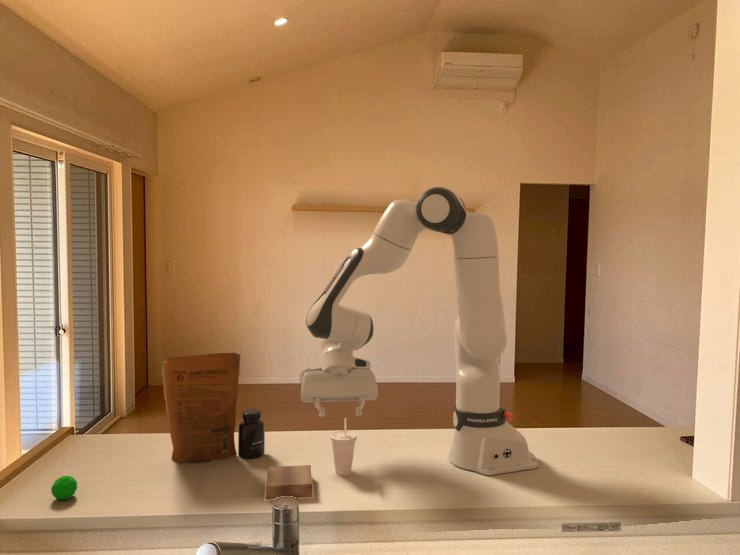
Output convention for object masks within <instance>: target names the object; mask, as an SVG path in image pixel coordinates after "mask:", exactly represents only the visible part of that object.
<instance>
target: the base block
mask: <svg viewBox="0 0 740 555" xmlns="http://www.w3.org/2000/svg"><path fill="white" fill-rule="evenodd" d="M266 472H267V473H266V474H267V476H266V479H267V481H266V480H265V484H266V499H275V498H277V497H281V496H293V497H296V498H301V497H312V477H311V476H312V465H310V464H306V465H305V464H304V465H303V464H302V465H287V466H286V465H285V466H284V465H283V466H268V467H267V471H266Z"/></svg>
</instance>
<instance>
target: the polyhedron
mask: <svg viewBox="0 0 740 555" xmlns="http://www.w3.org/2000/svg"><path fill="white" fill-rule="evenodd" d="M77 489H78V482H77V479H75V478H74V477H73V476H70V475H62V476H59V478H57V479H55V480H54V482H53V484H52V486H51V489H50V490H51V495H52V497H54V498H55V499H56V500H59V501H66V500H68V499H70V498H71V497H73V496H74V495H75V493H76V491H77Z"/></svg>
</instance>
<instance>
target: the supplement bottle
mask: <svg viewBox="0 0 740 555" xmlns="http://www.w3.org/2000/svg"><path fill="white" fill-rule="evenodd" d="M241 415H242V416H241V419H242V420H240V422H239V423H238V427H237V428H238V429H237V431H238V432H237V433H238V434H237V436H238V437H237V438H238V439H237V440H238V441H237V446H238V447H237V448H238V449H237V451H238V452H237V455H238V457H239V458H240V459H243V460H256V459H258V458H262V457H263V456H264V455H265V447H266V446H265V444H266V443H265V442H266V441H265V438H266V437H265V436H266V435H265V434H266V433H265V432H266V430H265V429H266V428H265V426H266V425H265V422H264V421H263V420H262V411H261V409H259V408H247V409H244V410H242V412H241Z"/></svg>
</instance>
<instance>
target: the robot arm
mask: <svg viewBox="0 0 740 555" xmlns="http://www.w3.org/2000/svg"><path fill="white" fill-rule="evenodd" d="M377 222H378V223H377V224H376V226H375V227H374V230H373V231H372V233H371V236H370V237H369V238H368V240H367V241H366V242H365V243H364V244H363V245H361V246H360V247H358V248H354V249H352V250H351V252H349V253H348V255H347V256H346V258H345V259H344V260H343V262H342V263H341V265H340V266H339V268H338V269H337V271H336V272H335V274H334V275H333V277H332V278H331V280H330V281H329V283H328V284H327V286H326V287H325V288H324V291H323V292H322V293H321V294H320V296H318V298H317V299H316V301H314V303H313V304H312V305H311V306H310V308H309V310H308V312H307V315H306V318H305V324H306V327H307V329H308V331H309V333H310V334H311V335H312V337H314V338H317V339H320V347H321V351H322V354H321V368H305V369H304V370H302V371H301V372H300V373H299V381H300V383H301V388H300V400H301V401H302V402H303V403H314V407H315V408H316V410H317V411H318V417H320V418H321V417H322V418H323V417H325V416H326V407H322V406H321V403H326V402H327V403H328V402H329V403H330V402H333V403H335V402H358V403H359V406H356V407H355V416H357V417H358V416H362V415H363V408H364V405H365V403H366V402H367V401H376V399H377V398H378V395H379V389H378V383H377V378H376V375H375V373H374V371H373V370H372V369H371V368H372V366H371V365H372V364H371V361H369V360H366V359H363V358H359V357H356V356H354V353H353V352H354V351H358V350H359V349H361V348H362V347H364V346H365V345H367V344H368V343H369V342H370V341H372V338H373V335H374V320H373V319H372V317H371V315H370V314H369V313H368V312H365V311H361V310H358V309H356V308H351V307H349V306H345V305H341V304H340V303H341V301H342V299H343V298H344V297H345V294H346V293H347V292H348V291H349V289H350V287H351V286H352V284H353V283H354V282H355V281H356V280H357V279H359V278H362V277H363V276H369V275H376V274H377V275H381V274H382V275H383V274H389V273H393V272H395V271H397V270H399V269H401V268H402V267H403V265H404V264H405V263H406V262H407V260H408V258H409V256H410V254H411V251H412V249H413V247H414V245H415V243H416V242H417V239H418V237H419V236H420V234H422V232H423V231H425V230H430V231H433V232H436V233H437V232H438V233H441V234H445V235H449V236H450V238H451V240H452V242H453V263H454V285H455V286H454V287H455V294H456V301H457V310H458V316H457V318H456V320H455V323H454V354H455V356H454V358H455V374H456V376H455V378H456V379H455V380H456V382H455V384H456V386H455V387H456V388H455V404H454V406H453V407H454V408H453V416H452V417H453V418H452V419H453V420H452V421H453V427H454V430H453V437H452V443H451V447H450V451H449V454H448V461H449V462H450V463H452V464H453V466H456V467H458V468H461V469H464V470H469V471H472V472H477V473H479V474H482V475H485V476H493V475H498V474H499V475H501V474H505V473H506V474H507V473H512V472H514V473H515V472H519V471H527V470H533V469H537V468H538V466H539V465H538V464H539V462H538V459H537V456H535V455H534V453H532V452H531V451H530V449H529V446H528V441H527V439H526V438H525V435H523V434H522V433H521V432H520V431H519V430H517V429H516V428H515V427H514V426H513V425H511V424H510V423H509V422H508V421H512V420H513V419H514V414H513V413H512V412H510V411H509V410H506V409H505V408H503V407H502V406H500V399H501V398H500V397H501V392H500V391H501V375H500V370H499V360H498V357H500V356H501V354H502V353H503V352H504V351H505V349H506V346H507V340H508V338H507V333H506V323H505V314H504V306H503V300H502V295H501V286H500V263H499V262H500V261H499V260H500V259H499V257H500V256H499V246H498V244H499V243H498V238H497V233H496V228H495V223H494V221H493V219H492V217H490V215H487V214H485V213H481V212H470V211H468V210H467V209H466V206H465V203H464V201H463V199H462V198H461V197H460V195H458V193H456V192H455V191H454V190H452V189H450V188H447V187H443V186H442V187H441V186H435V187H431V188H428V189H427V190H425V191H423V192H422V194H421V195H420V196H419V198H418V199H417V202H412V201H410V200H408V199H402V198H401V199H400V198H399V199H396V200H393V201H392V202H391V203H389V205H388V206H387V208H386V209H385V211H384V212H383V214H382V216H381V217H380V219H379V220H378V221H377Z"/></svg>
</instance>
